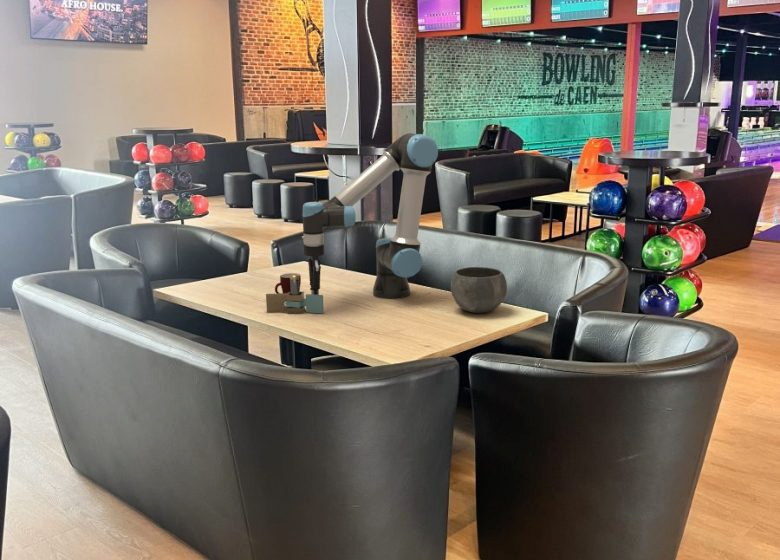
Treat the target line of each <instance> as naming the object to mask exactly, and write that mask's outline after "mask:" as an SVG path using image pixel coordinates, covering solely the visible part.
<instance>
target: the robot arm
mask: <svg viewBox="0 0 780 560" xmlns="http://www.w3.org/2000/svg"><path fill="white" fill-rule="evenodd" d="M438 157H439V149H438V145H437V143H436V142H435V140H434V139H433V138H432V137H430V136H429V135H425V134H422V133H412V132H410V133H405V134H403V135H401V136H400V137H398V138H397V139H396V140H395V141H393V142H392V143H391V144H390V145H389V146H387V148H385V149H384V150H383V151H382V155H381V156H380V157H379V158H378V159H376V160H375V161H374V162H373V163H372V164H370V165H369V166H368V167H367V168H366V169H364V171H362V172H360V174H359V175H358V176H356V177H355V178H354V179H352V181H351V182H349V183H348V184H347V185H346V186H345V187H343V189H341V190H340V191H339V192H337V194H336V195H334V196H333V197H332V198H331V199H329V200H327V201H323V202H320V201H309V202H305V203H303V205H302V215H301V216H302V228H303V229H302V231H303V236H301V239H303V244H304V245H303V255H304V256H306V257H309V259H307V264H308V265H307V266H308V277H309V286H310V289H309V291H310V292H311V293H310V294H315V295H320V289H321V269H322V266H321V260H320V258H319V257H322V256H324V254H325V245H324V244H325V239H324V238H325V233H324V232H325V231H324V229H328V228H347V227H353V226H354V225H355V223H356V217H357V215H356V210H355V208H354V207H353V206H355V205H356V204H357V203H358V202H360V201H361V200H363V198H365V196H367V195H368V194H369V193H370V192H371V191H373V190H374V188H376V187H377V186H379V184H381V183H382V182H383V181H384V180H385V179H387V178H388V177H389V176H390V175H392V174H393V172H395V171H397V172H399V171H400V170H401V172H402V173H403V176H402V177H403V178H402V185H401V190H400V199H399V203H398V204H399V205H398V213H397V220H396V221H397V222H396V227H395V235H394V236H393V237H387V238H386V237H385V238H379V239H377V240H376V243H375V250H376V251H375V254H376V255H375V256H376V258H375V259H376V277H375V282H374V284H373V288H372V295H373V296H374V297H377V298H382V299H399V298H405V297H407V296H409V295H410V294H411V288H410V287H411V286H410V285H409V281H408V278H410V277H413V276H415V275H416V274H417V273H419V272H420V270H421V268H422V264H423V257H422V255H421V253H420V250H421V242H420V240H419V239H418V237H419V236H418V235H419V230H420V229H419V227H420V222H421V221H420V220H421V213H422V208H423V200H424V194H425V186H426V180H427V176H428V175H429V174H431V173H432V167H433V164H435V162H436V160H437V158H438Z"/></svg>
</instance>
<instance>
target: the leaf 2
mask: <svg viewBox="0 0 780 560" xmlns="http://www.w3.org/2000/svg"><path fill="white" fill-rule="evenodd" d="M304 297H305V298H304V299H303V301H299V302H293V301H287V300H284V304H285V306H286V307H297V308H300V307H302V306H305V312H306V313H315V314H324V313H325V312H324V295H323V294H319V295H315V294H311V293H306V294H304Z"/></svg>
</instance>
